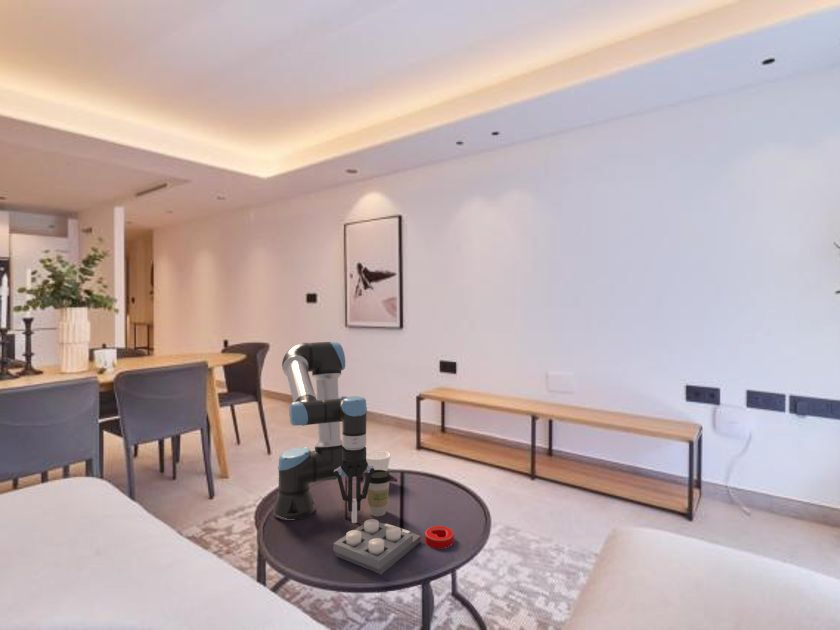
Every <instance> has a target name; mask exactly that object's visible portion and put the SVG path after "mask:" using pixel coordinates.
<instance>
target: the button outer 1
mask: <svg viewBox="0 0 840 630" xmlns="http://www.w3.org/2000/svg"><path fill="white" fill-rule="evenodd" d="M383 552H384V540H383V539H380V538H374V539H371V540H370V541H369V542H368V553H370V554H373V555H376V556H379V555H380V554H382V553H383Z"/></svg>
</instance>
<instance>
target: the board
mask: <svg viewBox="0 0 840 630" xmlns="http://www.w3.org/2000/svg"><path fill="white" fill-rule="evenodd" d="M378 522H379V531H378V532H377V533H375V534H374V535H371V534H368V533H366V532H364V523H363V524H362V525H360V526H358V527H357V528H355V529H354V530H357V531H360V532H361V544H359V545H358V546H356V547H352V546H350V545H347V544H346V535H343V537H341V538H340V539H338V540H336V541H335V542H333V543H332V545H333V547H332V549H333V552H334V553H335V557H336V558H337V557H338V558H340V559H342V560H345V561H347V562H350V563H351V564H355V565H356V566H360V567H361V568H364V569H367V570H370V571H372V572H374V573H376V574H379V575H382V574H384V573H385V572H386V571H387V570H388V569H390V568H391V567H392V566H393V565H394V564H396V563H397V562H398V561H400V559H401V558H403V557H404V556H405V555H406V554H408V553H409V552H410V551H412V550H413V549H414V548H415V547H416V546H417V545H419V544H420V543H421V541H422V537H421V536H422V535H419V534H416V533H413V532H411V531H410V530H407V529H404V528H402V527H399V528H400V529H401V539H400V540H399V541H397V542H396V543H394V542H391V541H388V540H386V529H387V528H388V527H391V526H393V525H392V524H389V523H384V522H383V523H382V522H380V521H378ZM374 538H380V539H383V540H384V552H383V553H382V554H380V555H379V556H376V555H373V554H370V553H368V542H369V541H370V540H371V539H374Z"/></svg>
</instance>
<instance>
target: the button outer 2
mask: <svg viewBox="0 0 840 630" xmlns="http://www.w3.org/2000/svg"><path fill="white" fill-rule="evenodd" d="M400 528H401V527H399V526H395V525H392V526H391V527H388V528H387V529H386V540H388V541H391V542H394V543H396V542H397V541H399V540H400V539H401V529H400Z"/></svg>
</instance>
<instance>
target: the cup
mask: <svg viewBox="0 0 840 630" xmlns="http://www.w3.org/2000/svg"><path fill="white" fill-rule="evenodd" d="M390 459H391V453H390V452H389V451H386V450H371V451H366V461H367V463H368V465H370V466H373V467H374V470H385V471H388V469H389V464H390Z"/></svg>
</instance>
